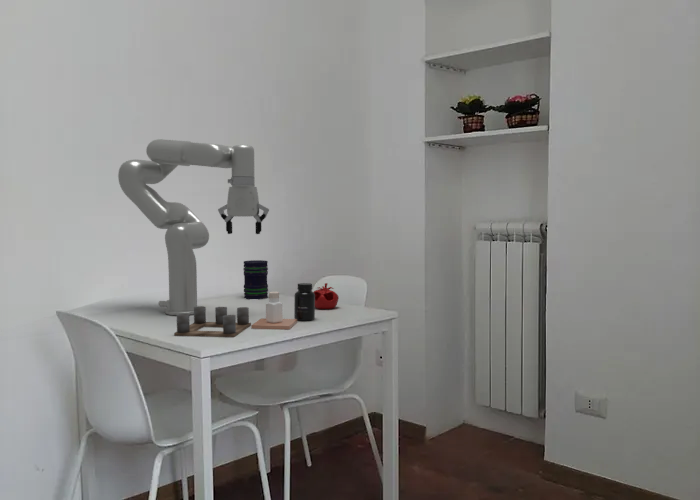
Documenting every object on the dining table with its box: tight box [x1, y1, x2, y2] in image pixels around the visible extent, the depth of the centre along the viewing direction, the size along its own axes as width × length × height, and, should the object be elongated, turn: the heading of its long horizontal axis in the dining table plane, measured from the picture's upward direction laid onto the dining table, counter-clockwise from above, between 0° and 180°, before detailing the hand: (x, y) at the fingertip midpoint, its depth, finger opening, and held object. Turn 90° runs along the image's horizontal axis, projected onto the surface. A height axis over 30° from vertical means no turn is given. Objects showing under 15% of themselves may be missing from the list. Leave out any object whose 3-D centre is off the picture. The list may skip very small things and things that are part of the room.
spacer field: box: [173, 305, 252, 338], centre depth 195 cm, size 18×18×6 cm
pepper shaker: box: [265, 291, 283, 323], centre depth 203 cm, size 4×4×10 cm
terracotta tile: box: [250, 317, 298, 330], centre depth 204 cm, size 12×12×1 cm
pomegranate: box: [313, 282, 339, 310], centre depth 237 cm, size 10×10×9 cm
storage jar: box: [242, 259, 269, 300], centre depth 262 cm, size 10×10×15 cm
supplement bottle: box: [293, 282, 316, 322], centre depth 213 cm, size 7×7×12 cm
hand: (243, 233), depth 216 cm, fingers open, 9 cm apart
